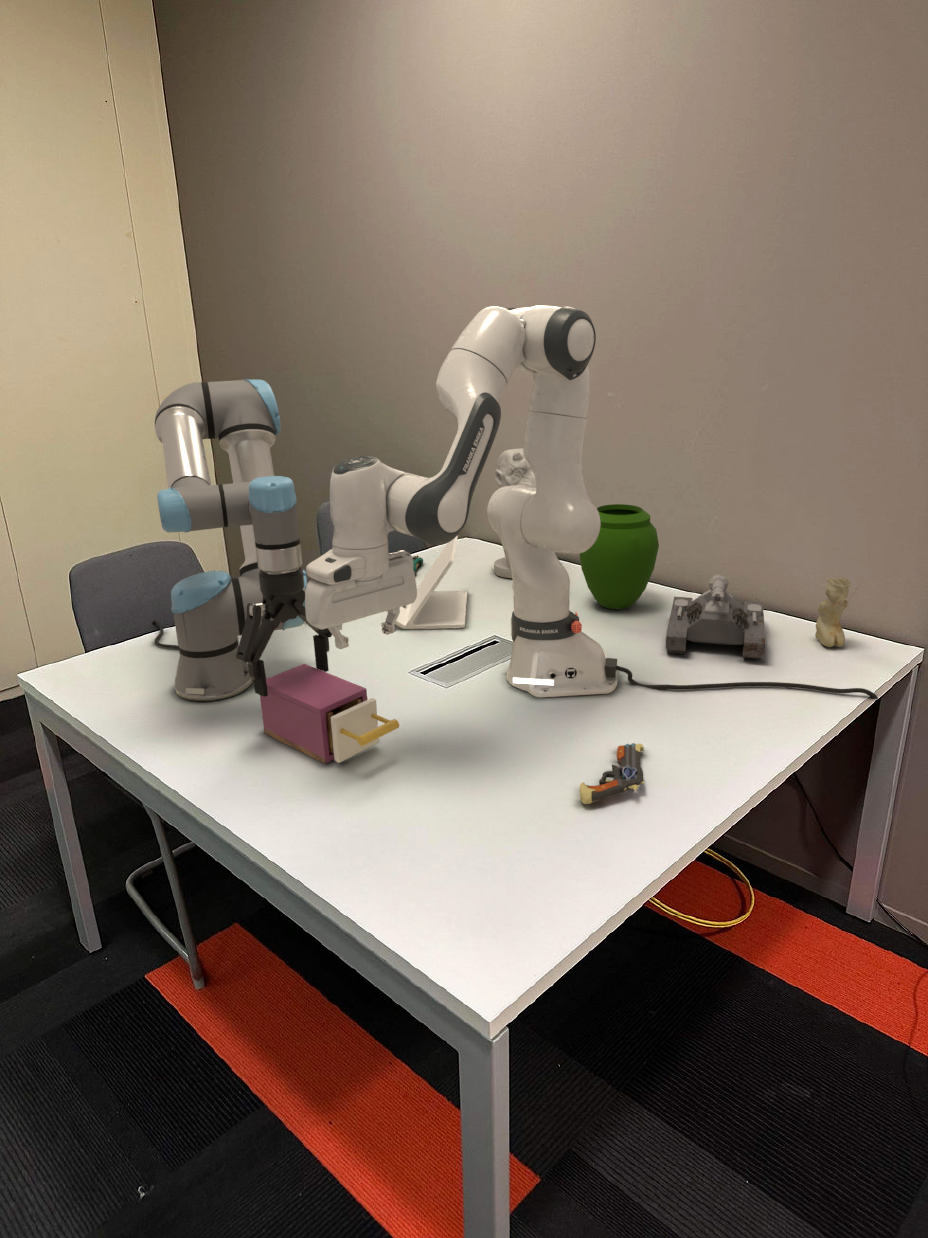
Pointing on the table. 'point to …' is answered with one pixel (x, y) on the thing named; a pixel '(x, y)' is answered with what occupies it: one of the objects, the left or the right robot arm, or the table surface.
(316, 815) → the table surface
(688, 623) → the toy
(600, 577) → the vase
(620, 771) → the toy gun
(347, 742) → the drawer
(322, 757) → the cabinet
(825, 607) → the sculpture
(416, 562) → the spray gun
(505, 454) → the bust sculpture
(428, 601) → the tablet stand
